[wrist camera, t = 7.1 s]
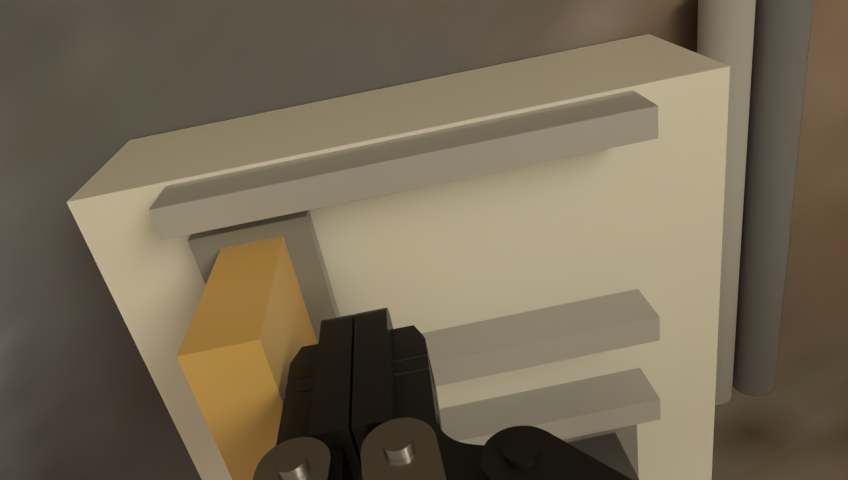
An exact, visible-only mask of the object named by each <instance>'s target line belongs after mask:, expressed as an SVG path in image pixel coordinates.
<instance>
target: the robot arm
mask: <svg viewBox="0 0 848 480" xmlns="http://www.w3.org/2000/svg"><path fill="white" fill-rule="evenodd" d="M287 382H288V384H287V385H286V390H285V398H284V402H283V408H282V414H281V420H280V425H279V431H278V437H277V443H276V446H275V447H274V448H272V449H271V450H270V451H268V452H267V453H266V454H265V455H264V456H263V458H262V459H261V460H260V462H259V463H258V465H257V467H256V470H255V473H254V476H253V480H632V479H630V478H629V477H627V476H625V475H623V474H622V473H620V472H618V471H616V470H614V469H613V468H611V467H609V466H607V465H606V464H604V463H602V462H600V461H599V460H597V459H595V458H593V457H591V456H590V455H588V454H586V453H584V452H583V451H581V450H579V449H577V448H576V447H574V446H572V445H570V444H568V443H567V442H565V441H563V440H561V439H560V438H558V437H556V436H554V435H553V434H551V433H549V432H547V431H545V430H543V429H541V428H537V427H533V426H522V425H521V426H513V427H509V428H506V429H503V430H501V431H499V432H497V433H496V434H494V435H493V436H492V437H490V439H489V440H488V441H487V442H486V443H485V445H474V444H466V443H462V442H459V441H456V440H454V439H452V438H450V437H449V436H447V435H446V434H445V433H444V432H443V431H442V425H441V418H440V411H439V404H438V397H437V391H436V386H435V381H434V376H433V372H432V367H431V363H430V358H429V353H428V349H427V344H426V340H425V337H424V336H423V335H422V334H421V332H420V331H419V330H418V329H417V328H416V327H415V326H414V325H412V326H407V327H401V328H396V329H393V325H392V321H391V317H390V313H389V310H388V308H382V309H377V310H372V311H367V312H361V313H356V314H355V315H354V314H352V315H347V316H341V317H336V318H331V319H326V320H322V321H321V326H320V335H319V343H318V344H314V345H309V346H304V347H301V349H300V350H299V352H298V353H297V355H296V356H295V357H294V359H293V360H292V362H291V363H290V367H289V373H288V379H287Z"/></svg>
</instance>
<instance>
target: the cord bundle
mask: <svg viewBox="0 0 848 480" xmlns="http://www.w3.org/2000/svg"><path fill="white" fill-rule="evenodd" d="M812 9H813V0H698V29H697V53H698V54H701V55H703V56H706V57H708V58H711V59H713V60H716V61H718V62H721V63H723V64H726V65H728V66H730V81H729V103H728V125H727V147H726V169H725V191H724V213H723V235H722V258H721V280H720V302H719V324H718V346H717V368H716V390H715V405H722V404H725V403H727V402H728V401H729V400H730V399H731V397H732V385H733V386H734V388H735V389H737V390H738V391H739V392H741V393H743V394H746V395H749V396H765V395H768V394H770V393H771V392H772V391H773V390H774V385H775V375H776V365H777V356H778V346H779V336H780V326H781V316H782V306H783V296H784V286H785V276H786V266H787V257H788V247H789V237H790V227H791V217H792V207H793V197H794V187H795V177H796V168H797V158H798V148H799V138H800V128H801V118H802V108H803V98H804V88H805V78H806V69H807V59H808V49H809V39H810V29H811V19H812Z"/></svg>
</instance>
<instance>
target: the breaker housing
mask: <svg viewBox="0 0 848 480" xmlns="http://www.w3.org/2000/svg"><path fill="white" fill-rule="evenodd" d="M729 81H730V66H728V65H726V64H723V63H721V62H718V61H716V60H713V59H711V58H708V57H706V56H703V55H701V54H698V53H696V52H693V51H691V50H688V49H685V48H683V47H680V46H678V45H675V44H673V43H670V42H668V41H665V40H663V39H660V38H658V37H655V36H653V35H650V34H646V35H641V36H636V37H631V38H626V39H621V40H617V41H612V42H607V43H602V44H597V45H592V46H587V47H582V48H577V49H573V50H568V51H563V52H558V53H553V54H548V55H543V56H538V57H533V58H529V59H524V60H519V61H514V62H509V63H504V64H499V65H494V66H489V67H485V68H480V69H475V70H470V71H465V72H460V73H455V74H450V75H445V76H441V77H436V78H431V79H426V80H421V81H416V82H411V83H406V84H401V85H397V86H392V87H387V88H382V89H377V90H372V91H367V92H362V93H357V94H353V95H348V96H343V97H338V98H333V99H328V100H323V101H318V102H313V103H309V104H304V105H299V106H294V107H289V108H284V109H279V110H274V111H270V112H265V113H260V114H255V115H250V116H245V117H240V118H235V119H230V120H226V121H221V122H216V123H211V124H206V125H201V126H196V127H191V128H186V129H182V130H177V131H172V132H167V133H162V134H157V135H152V136H147V137H142V138H138V139H133V140H129V141H128V142H127V143H126V144H125V145H124V146H123V147H122V148H121V149H120V150H119V151H118V152H117V153H116V154H115V155H114V156H113V157H112V158H111V159H110V160H109V161H108V162H107V163H106V164H105V165H104V166H103V167H102V168H101V169H100V170H99V171H98V172H97V173H96V174H95V175H94V176H93V177H92V178H91V179H90V180H89V181H88V182H87V183H86V184H85V185H84V186H83V187H82V188H80V189H79V190H78V191H77V192H76V193H75V194H74V195H73V196H72V197H71V198H70V199H69V200H68V201H67V204H68V206H69V208H70V210H71V212H72V214H73V216H74V218H75V220H76V222H77V224H78V226H79V229H80V231H81V233H82V235H83V237H84V239H85V241H86V243H87V245H88V247H89V249H90V251H91V253H92V255H93V257H94V259H95V261H96V263H97V266H98V268H99V270H100V272H101V274H102V276H103V278H104V280H105V282H106V284H107V286H108V288H109V290H110V292H111V294H112V296H113V298H114V300H115V302H116V305H117V307H118V309H119V311H120V313H121V315H122V317H123V319H124V321H125V323H126V325H127V327H128V329H129V331H130V333H131V335H132V337H133V339H134V341H135V344H136V346H137V348H138V350H139V352H140V354H141V356H142V358H143V360H144V362H145V364H146V366H147V368H148V370H149V372H150V374H151V376H152V378H153V381H154V383H155V385H156V387H157V389H158V391H159V393H160V395H161V397H162V399H163V401H164V403H165V405H166V407H167V409H168V411H169V413H170V415H171V417H172V420H173V422H174V424H175V426H176V428H177V430H178V432H179V434H180V436H181V438H182V440H183V442H184V444H185V446H186V448H187V450H188V452H189V454H190V457H191V459H192V461H193V463H194V465H195V467H196V469H197V471H198V473H199V475H200V477H201V479H202V480H232V478H231V475H230V473H229V471H228V469H227V467H226V464H225V462H224V460H223V458H222V456H221V453H220V451H219V449H218V447H217V445H216V442H215V440H214V438H213V436H212V434H211V432H210V429H209V427H208V425H207V423H206V421H205V418H204V416H203V414H202V412H201V410H200V407H199V405H198V403H197V401H196V399H195V396H194V394H193V392H192V390H191V388H190V385H189V383H188V381H187V379H186V377H185V374H184V372H183V370H182V368H181V366H180V363H179V361H178V359H177V354H178V352H179V349H180V347H181V344H182V342H183V339H184V337H185V335H186V332H187V330H188V327H189V325H190V322H191V320H192V317H193V315H194V313H195V310H196V308H197V305H198V303H199V300H200V298H201V296H202V293H203V291H204V288H205V286H206V285H205V282H204V280H203V278H202V275H201V273H200V270H199V268H198V265H197V263H196V260H195V258H194V255H193V253H192V250H191V248H190V245H189V243H188V239H189V237H190V235H191V234H194V233H199V232H204V231H209V230H214V229H219V228H224V227H229V226H233V225H238V224H243V223H248V222H253V221H258V220H263V219H268V218H272V217H277V216H282V215H287V214H292V213H297V212H302V211H307V210H309V211H310V215H311V218H312V222H313V225H314V229H315V232H316V235H317V239H318V242H319V246H320V249H321V252H322V256H323V259H324V263H325V266H326V270H327V273H328V276H329V280H330V283H331V287H332V290H333V294H334V297H335V300H336V304H337V307H338V311H339V314H340V317H341V316H347V315H352V314H354V315H355V314H356V313H361V312H367V311H372V310H377V309H382V308H388V310H389V313H390V317H391V321H392V325H393V329H396V328H401V327H407V326H412V325H414V326H415V327H416V328H417V329H418V330H419V331H420V332H421V334H422V335H423V336H424V337H425V340H426V344H427V349H428V353H429V358H430V363H431V367H432V372H433V376H434V381H435V386H436V391H437V397H438V404H439V411H440V418H441V425H442V431H443V432H444V433H445V434H446V435H447V436H449V437H450V438H452V439H454V440H456V441H459V442H462V443H466V444H474V445H485V443H486V442H487V441H488V440H489V439H490V437H492V436H493V435H494V434H496V433H497V432H499V431H501V430H503V429H506V428H509V427H513V426H521V425H522V426H533V427H537V428H541V429H543V430H545V431H547V432H549V433H551V434H553V435H554V436H556V437H558V438H560V439H561V440H563V439H568V438H573V437H578V436H582V435H587V434H592V433H597V432H602V431H607V430H612V429H616V428H621V427H626V426H631V425H636V424H637V443H638V476H639V480H711V479H712V457H713V435H714V412H715V390H716V368H717V346H718V324H719V302H720V280H721V258H722V235H723V213H724V191H725V169H726V147H727V125H728V103H729Z"/></svg>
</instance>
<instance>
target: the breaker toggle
mask: <svg viewBox="0 0 848 480" xmlns="http://www.w3.org/2000/svg"><path fill="white" fill-rule="evenodd" d="M188 243H189V245H190V248H191V250H192V253H193V255H194V258H195V260H196V263H197V265H198V268H199V270H200V273H201V275H202V278H203V280H204V282H205V285H206V286H205V288H204V291H203V293H202V296H201V298H200V300H199V303H198V305H197V308H196V310H195V313H194V315H193V317H192V320H191V322H190V325H189V327H188V330H187V332H186V335H185V337H184V339H183V342H182V344H181V347H180V349H179V352H178V354H177V359H178V361H179V363H180V366H181V368H182V370H183V372H184V374H185V377H186V379H187V381H188V383H189V385H190V388H191V390H192V392H193V394H194V396H195V399H196V401H197V403H198V405H199V407H200V410H201V412H202V414H203V416H204V418H205V421H206V423H207V425H208V427H209V429H210V432H211V434H212V436H213V438H214V440H215V442H216V445H217V447H218V449H219V451H220V453H221V456H222V458H223V460H224V462H225V464H226V467H227V469H228V471H229V473H230V475H231V478H232V480H253V476H254V473H255V470H256V467H257V465H258V463H259V462H260V460H261V459H262V458H263V456H264V455H265V454H266V453H267V452H268V451H270V450H271V449H272V448H274V447H275V446H276V443H277V437H278V431H279V425H280V420H281V414H282V408H283V402H284V398H285V390H286V385H287V384H288V382H287V379H288V373H289V367H290V363H291V362H292V360H293V359H294V357H295V356H296V355H297V353H298V352H299V350H300V349H301V347H304V346H309V345H314V344H318V343H319V335H320V326H321V321H322V320H326V319H331V318H336V317H340V314H339V311H338V307H337V304H336V300H335V297H334V294H333V290H332V287H331V283H330V280H329V276H328V273H327V270H326V266H325V263H324V259H323V256H322V252H321V249H320V246H319V242H318V239H317V235H316V232H315V229H314V225H313V222H312V218H311V215H310V211H309V210H307V211H302V212H297V213H292V214H287V215H282V216H277V217H272V218H268V219H263V220H258V221H253V222H248V223H243V224H238V225H233V226H229V227H224V228H219V229H214V230H209V231H204V232H199V233H194V234H191V235H190V237H189V239H188Z"/></svg>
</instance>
